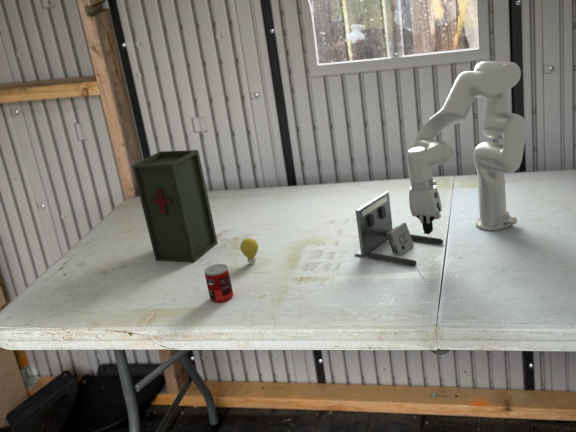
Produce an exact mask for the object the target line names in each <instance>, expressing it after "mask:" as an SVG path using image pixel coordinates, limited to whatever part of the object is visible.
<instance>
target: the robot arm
mask: <svg viewBox="0 0 576 432" xmlns="http://www.w3.org/2000/svg"><path fill="white" fill-rule="evenodd" d="M521 76H522V71H521V68H520V66H519V65H518V64H517V63H516V62H513V61H498V60H483V61H480V62H477V64H476V65H475V66H474V69H473V70H466V71H463V72H461V73H459V74H458V76H457V77H456V79H455V80H454V83H453V85H452V88H451V89H450V91H449V94H448V95H447V98H446V100H445V102H444V104H443V105H442V108H441V109H440V110H438V111H437V112H436V113H435V114H434V115H432V116H431V117H430V118H429V119H428V120H426V122H425V123H424V124H423V125H422V126H421V128H420V129H419V131H418V134H417V135H416V137H415V140H414V142H413V145H412V148H410V149H408V151H407V152H406V161H407V169H408V171H407V172H408V176H409V185H410V187H409V192H408V200H409V201H408V202H409V209H410V214H411V216H412V217H415V218H417V219H418V220H419V221H420V222H419V223H421V224H422V230H423V234H425V235H430V234H431V233H433V231H434V226H433V221H434V220H439V219H440V218H441V217H442V214H441V212H442V210H443V208H442V203H441V202H442V201H441V197H440V192H439V190H438V188H437V186H436V185H437V181H436V180H434V178H433V170H432V167H435V166H439V165H443V164H446V163H447V162H449V161H450V160H451V159H452V157H453V154H454V149H453V147H452V145H451V144H449V143H448V142H446V141H441V140H437V139H435V138H436V137H437V136H438V135H439V134H440V133H441V132H443V130H446V129H447V128H449V127H451V126H454V125H457V124H459V123H462V122H463V121H464V120H466V118H467V116H468V114H469V112H470V110H471V107H472V105H473V103H474V101H475V99H476V98H483V99H484V106H483V116H482V120H481V121H482V122H481V123H482V124H481V133H482V135H483V136H485V137H486V138H489V139H495V140H500V141H503V143H499V142H493V141H483V142H480V143H479V144H477V145H476V146H475V148H474V150H473V162H474V163H473V164H474V167H475V170H476V176H477V190H478V191H477V192H478V206H479V207H478V208H479V209H478V210H479V218H478V219H477V220H476V221H475V226H476V227H477V228H478V229H480V230H484V231H501V230H505V229H507V228H509V227H510V226H511V225H517V223H518V219H517V217H516V216H514V215H513V216H511V215H510V211H507V196H506V177H505V174H504V173H508V174H509V173H514V172H516V171H518V169H519V168H520V167H521V164H522V162H523V156H524V151H525V144H526V137H527V122H526V120H525V118H524V117H523V116H522V115H520V114H518V113H512V112H510V108H511V107H510V106H511V105H510V104H511V94H510V91H509V90H510V89H512V88H514V87H516V85H517V84H518V83H519V81H521V80H520V79H521Z"/></svg>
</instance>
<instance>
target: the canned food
mask: <svg viewBox="0 0 576 432" xmlns="http://www.w3.org/2000/svg"><path fill="white" fill-rule="evenodd" d="M203 272H204V277H205V280H206V282H205V283H206V286H207V290H208V295H209V298H210V301H211V302H213V303H215V304H216V303H217V304H219V303H226V302H228V301H230V300H231V299H232V298H233V296H234V291H233V286H232V281H231V275H230V271H229V267H228V265H226V264H224V263H217V264H212V265H210V266H207V267H206V268H205V269H204V271H203Z"/></svg>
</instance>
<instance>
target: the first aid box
mask: <svg viewBox="0 0 576 432" xmlns="http://www.w3.org/2000/svg"><path fill="white" fill-rule="evenodd" d="M131 166H132V171H133V174H134V178H135V182H136V188H137V190H138V193H139V198H140V203H141V206H142V211H143V214H144V218H145V222H146V226H147V231H148V235H149V240H150V243H151V247H152V251H153V255H154V260H155V261H157V262H173V263H174V262H175V263H196V262H197V261H198V260H199V259H200V258H201V257H203V256H205V254H206V253H208V252H209V251H210V250H211V249H213V248H214V247H215V246H216V245H217V244H218V239H217V233H216V228H215V224H214V219H213V214H212V210H211V206H210V200H209V197H208V196H209V194H208V191H207V185H206V181H205V175H204V171H203V167H202V162H201V157H200V152H199V149H193V150H192V149H190V150H189V149H188V150H168V151H166V150H162V151H158V152H156V153H154V154H153V155H150V156H148V157H146V158H145V159H142V160H140V161H138V162H137V163H135V164H133V165H131Z"/></svg>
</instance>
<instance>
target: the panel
mask: <svg viewBox="0 0 576 432" xmlns="http://www.w3.org/2000/svg"><path fill="white" fill-rule="evenodd" d="M355 217H356V225H357V226H356V227H357V232H358V242H359V248H360V249H359V250H357V251H356V252H355V253H354V256H355V257H360V258H361V257H362V258H366V257H367V256H366V254H367V253H368V252H371V253H373V252H374V251H375V250H377V248H379V247H380V246H382V245H383V244H385V243H386V242H388V239H387V236H386V234H387V233H388V232H389V231H391V230H392V229H394V228H393V219H392V210H391V201H390V192H389V191H387V190H386V191H384V192H382V193H381V194H380V195H377V196H376V197H374V198H373V199H372V200H370V201H368V202H366V203H365V204H363V205H361V206H360V207H359V208H357V209H355Z"/></svg>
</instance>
